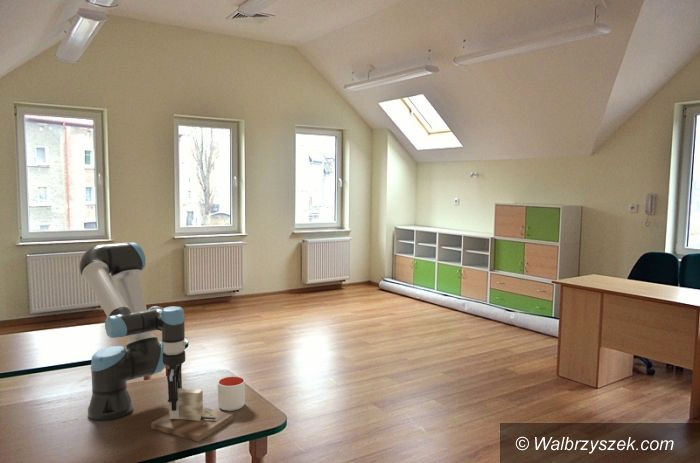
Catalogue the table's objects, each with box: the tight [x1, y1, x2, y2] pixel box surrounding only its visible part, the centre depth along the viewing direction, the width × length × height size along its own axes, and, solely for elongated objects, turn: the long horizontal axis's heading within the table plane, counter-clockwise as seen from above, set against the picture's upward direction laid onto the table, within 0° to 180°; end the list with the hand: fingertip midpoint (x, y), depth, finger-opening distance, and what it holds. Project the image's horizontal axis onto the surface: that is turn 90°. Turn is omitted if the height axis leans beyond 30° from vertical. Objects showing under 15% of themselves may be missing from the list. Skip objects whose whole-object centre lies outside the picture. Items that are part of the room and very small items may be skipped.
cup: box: [217, 376, 246, 412], centre depth 205 cm, size 10×10×10 cm
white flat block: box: [168, 388, 216, 421], centre depth 190 cm, size 16×3×10 cm, turn 83°
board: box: [150, 406, 234, 443], centre depth 191 cm, size 21×18×2 cm
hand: (176, 415), depth 191 cm, fingers closed on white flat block, 4 cm apart
